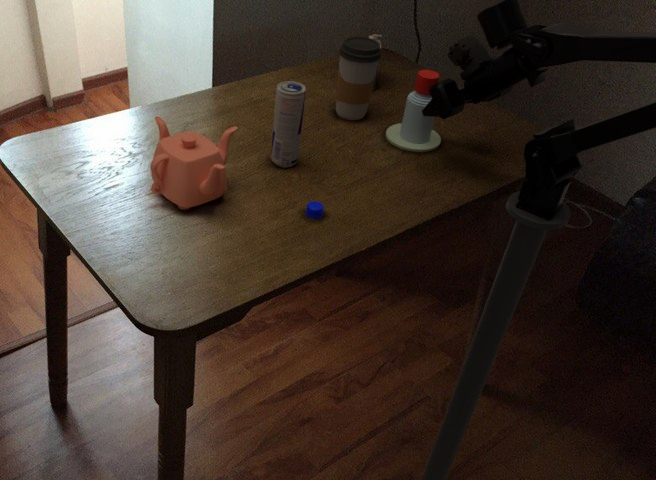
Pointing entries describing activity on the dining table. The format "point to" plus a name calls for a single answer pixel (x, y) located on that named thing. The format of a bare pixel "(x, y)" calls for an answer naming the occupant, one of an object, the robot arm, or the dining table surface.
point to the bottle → (416, 119)
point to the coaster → (397, 141)
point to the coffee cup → (356, 76)
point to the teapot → (189, 166)
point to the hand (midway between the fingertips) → (438, 107)
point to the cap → (426, 81)
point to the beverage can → (287, 123)
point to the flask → (376, 37)
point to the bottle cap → (314, 210)
